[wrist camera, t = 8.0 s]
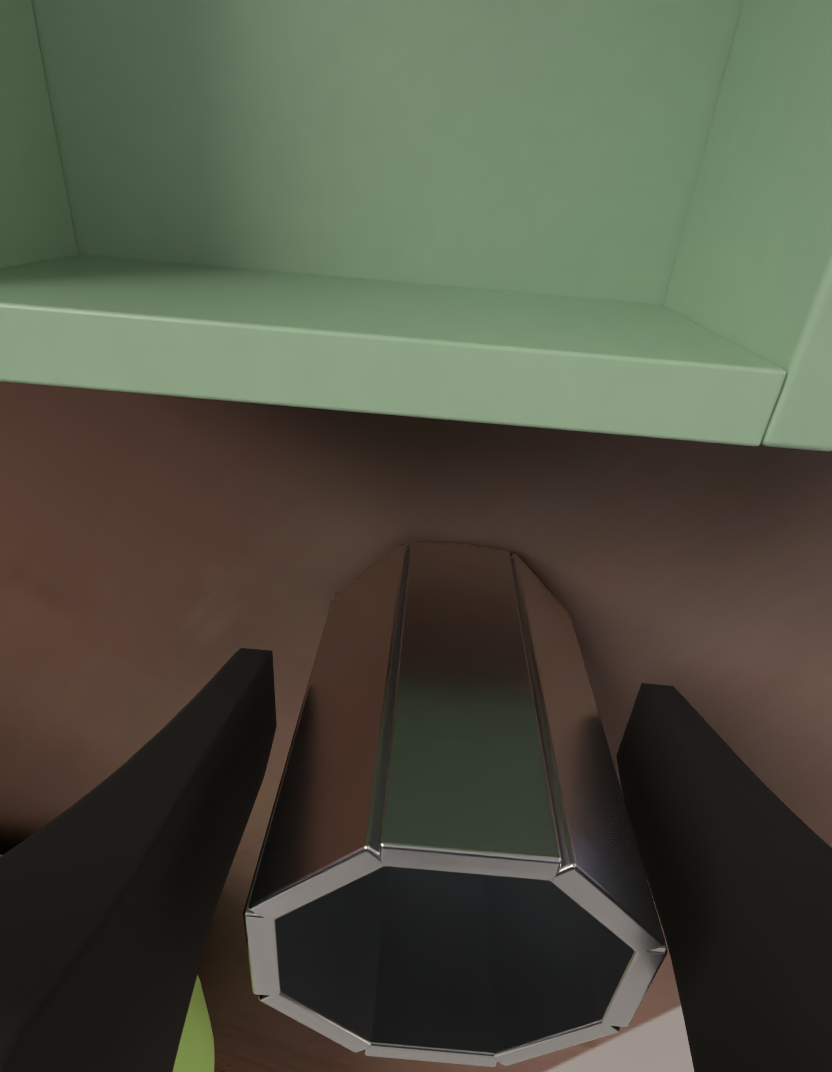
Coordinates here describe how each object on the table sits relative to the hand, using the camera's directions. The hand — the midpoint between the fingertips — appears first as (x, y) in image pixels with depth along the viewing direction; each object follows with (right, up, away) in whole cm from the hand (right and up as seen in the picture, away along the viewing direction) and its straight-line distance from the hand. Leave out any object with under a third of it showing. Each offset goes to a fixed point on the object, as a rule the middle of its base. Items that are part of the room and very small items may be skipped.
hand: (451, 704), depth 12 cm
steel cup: (0, +1, +2) cm, 2 cm away
